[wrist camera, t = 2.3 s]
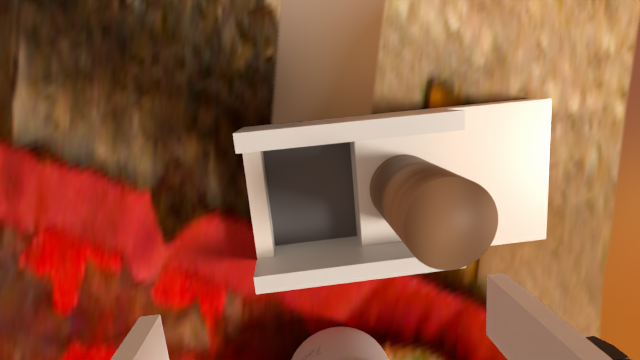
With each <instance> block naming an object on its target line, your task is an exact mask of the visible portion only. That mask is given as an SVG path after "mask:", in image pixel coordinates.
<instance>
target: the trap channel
mask: <svg viewBox="0 0 640 360" xmlns="http://www.w3.org/2000/svg"><path fill="white" fill-rule="evenodd" d="M551 110H552V98H538V99H520V100H510V101H500V102H490V103H480V104H470V105H460V106H450V107H440V108H430V109H420V110H410V111H400V112H390V113H380V114H370V115H361V116H350V117H341V118H330V119H320V120H310V121H300V122H290V123H281V124H270V125H260V126H250V127H243V128H241V129H239V130H238V131H236V132H234V133H233V139H234V146H235V153H236V154H239V153H242V155H243V162H244V169H245V176H246V183H247V190H248V198H249V205H250V212H251V219H252V226H253V233H254V240H255V247H256V254H257V263H256V268H255V273H254V284H255V291H256V294H263V293H271V292H279V291H287V290H294V289H302V288H310V287H318V286H326V285H334V284H341V283H349V282H357V281H365V280H373V279H381V278H389V277H396V276H404V275H412V274H420V273H428V272H436V271H443V270H439V269H434V268H431V267H428V266H426V265H424V264H423V263H421V262H420V261H419V260H418V259H417V258H415V256H414V255H413V254H412V253H411V251H410V250H409V249H408V248H407V246H406V245H405V244H404V243H403V242H402V240H401V239H400V238H399V237H398V235H397V234H396V233H395V232H394V230H393V229H392V228H391V227H390V225H389V224H388V223H387V222H386V220H385V219H384V218H383V217H382V216H381V214H380V213H379V212H378V211H377V209H376V208H375V207H374V205H373V203H372V201H371V197H370V182H371V178H372V176H373V174H374V172H375V170H376V169H377V168H378V167H379V166H380V165H381V164H382V163H383V162H384V161H385V160H387V159H389V158H391V157H393V156H396V155H403V154H407V155H413V156H416V157H419V158H421V159H424V160H426V161H428V162H430V163H433V164H435V165H437V166H439V167H442V168H444V169H446V170H449V171H451V172H453V173H455V174H458V175H460V176H462V177H465V178H467V179H469V180H471V181H474V182H476V183H478V184H479V185H481V186H482V187H483V188H485V189H486V190H487V191H488V192H489V194H490V195H491V196H492V198H493V200H494V202H495V204H496V207H497V211H498V227H497V232H496V235H495V238H494V240H493V242H492V244H491V245H490V246H492V245H500V244H508V243H517V242H525V241H533V240H541V239H546V227H547V204H548V180H549V157H550V133H551ZM462 268H466V266H465V267H462Z"/></svg>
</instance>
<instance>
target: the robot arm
mask: <svg viewBox="0 0 640 360" xmlns="http://www.w3.org/2000/svg"><path fill="white" fill-rule="evenodd" d="M486 334H487V336H488V337H489V338H490V339H491V340H492V342H493V343H494V344H495V345H496V346H497V348H498V349H499V350H500V351H501V352H502V354H503V355H504V356H505V357H506V358H507V360H630V359H629V357H628V356H627V355H625V354H624V353H623V352H621V351H620V350H619V349H617V348H616V347H615V346H613V345H611V344H609V343H607V342H605V341H603V340H601V339H599V338H597V337H595V336H591V337H584V336H583V335H582V334H581V333H579V332H578V331H577V330H576V329H574V328H573V327H572V326H571V325H569V324H568V323H567V322H566V321H564V320H563V319H562V318H561V317H559V316H558V315H557V314H556V313H555V312H553V311H552V310H551V309H550V308H548V307H547V306H546V305H545V304H543V303H542V302H541V301H540V300H538V299H537V298H536V297H535V296H533V295H532V294H531V293H530V292H528V291H527V290H526V289H525V288H524V287H522V286H521V285H520V284H519V283H517V282H516V281H515V280H514V279H512V278H511V277H510V276H509V275H507V274H506V273H500V274H491V275H487V325H486ZM111 360H169V356H168V351H167V346H166V341H165V336H164V331H163V326H162V321H161V317H160V315H152V316H143V317H139V319H138V320H137V322H136V323H135V325H134V326H133V328H132V329H131V331H130V332H129V334H128V335H127V336H126V338H125V339H124V341H123V342H122V344H121V345H120V347H119V348H118V350H117V351H116V353H115V354H114V355H113V357H112V358H111Z"/></svg>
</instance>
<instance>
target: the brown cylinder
mask: <svg viewBox="0 0 640 360" xmlns="http://www.w3.org/2000/svg"><path fill="white" fill-rule="evenodd" d="M370 197H371V201H372V203H373V205H374V207H375V208H376V209H377V211H378V212H379V213H380V214H381V216H382V217H383V218H384V219H385V220H386V222H387V223H388V224H389V225H390V227H391V228H392V229H393V230H394V232H395V233H396V234H397V235H398V237H399V238H400V239H401V240H402V242H403V243H404V244H405V245H406V246H407V248H408V249H409V250H410V251H411V253H412V254H413V255H414V256H415V258H417V259H418V260H419V261H420V262H421V263H423V264H424V265H426V266H428V267H431V268H434V269H439V270H454V269H459V268H462V267H465V266H467V265H470V264H471V263H473V262H475V261H476V260H477V259H479V258H480V257H481V256H482V255H483V254H484V253H485V252H486V251H487V250H488V248H489V247H490V245H491V244H492V242H493V240H494V238H495V235H496V232H497V227H498V211H497V207H496V204H495V202H494V200H493V198H492V196H491V195H490V194H489V192H488V191H487V190H486V189H485V188H483V187H482V186H481V185H479V184H478V183H476V182H474V181H471V180H469V179H467V178H465V177H462V176H460V175H458V174H455V173H453V172H451V171H449V170H446V169H444V168H442V167H439V166H437V165H435V164H433V163H430V162H428V161H426V160H424V159H421V158H419V157H416V156H413V155H407V154H403V155H396V156H393V157H391V158H389V159H387V160H385V161H384V162H383V163H382V164H381V165H380V166H379V167H378V168H377V169H376V170H375V172H374V174H373V176H372V178H371V182H370Z"/></svg>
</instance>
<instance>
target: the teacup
mask: <svg viewBox="0 0 640 360" xmlns="http://www.w3.org/2000/svg"><path fill="white" fill-rule="evenodd" d="M291 360H389V359H388V357H387V355H386V354H385V352H384V350H383V349H382V347H381V346H380V345H379V344H378V343H377V342H376V341H375V340H374V339H373V338H372V337H371V336H369V335H368V334H366V333H364V332H363V331H360V330H358V329H355V328H350V327H332V328H327V329H324V330H322V331H319V332H317V333H315V334H313V335H312V336H310V337H309V338H308V339H306V340H305V341H304V342H303V343H302V344H301V345H300V346H299V348H298V349H297V350H296V352H295V353H294V355H293V357H292V359H291Z"/></svg>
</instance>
